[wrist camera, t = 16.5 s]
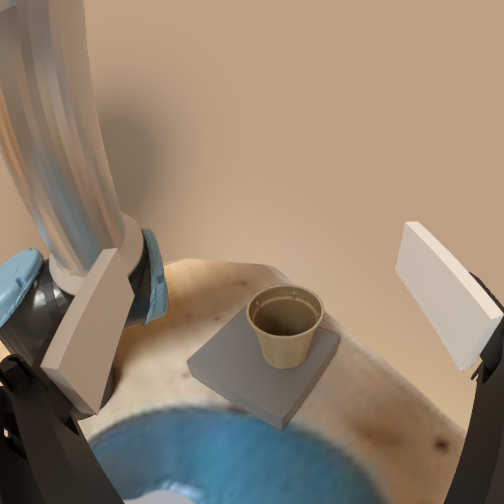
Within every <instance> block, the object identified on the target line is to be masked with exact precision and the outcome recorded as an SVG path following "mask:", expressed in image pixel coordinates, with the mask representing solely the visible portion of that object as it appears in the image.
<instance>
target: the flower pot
mask: <svg viewBox="0 0 504 504" xmlns="http://www.w3.org/2000/svg"><path fill="white" fill-rule="evenodd" d="M323 315H324V307H323V303H322V301H321V299H320V298H319V297H318V296H317V295H316V294H315V293H314V292H312V291H310V290H309V289H306V288H304V287H300V286H296V285H286V284H285V285H275V286H270V287H267V288H265V289H263V290H261V291H259V292H257V293H256V294H255V295H254V296H253V297H252V298H251V299H250V301H249V302H248V304H247V307H246V316H247V320H248V322H249V324H250V325H251V326H252V327H253V329H254V330H255V332H256V333H257V336H258V340H259V343H260V346H261V349H262V353H263V356H264V359H265V360H266V362H267V363H268V364H270V365H271V366H273V367H275V368H278V369H286V368H294V367H297V366H299V365H300V364H301V363H302V362H303V361H304V360H305V359H306V356H307V353H308V350H309V346H310V343H311V340H312V337H313V334H314V331H315V330H316V328H317V327H318V326H319V324H320V323H321V321H322V319H323Z"/></svg>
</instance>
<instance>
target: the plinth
mask: <svg viewBox="0 0 504 504" xmlns="http://www.w3.org/2000/svg"><path fill="white" fill-rule="evenodd" d="M246 307H247V305H246V306H245V307H244V308H243V309H242V310H241V311H240V312H239V313H238V314H237V315H236V316H235V317H234V318H233V319H232V320H230V321H229V322H228V323H227V324H226V325H225V326H224V327H223V328H222V329H221V330H220V331H219V332H218V333H216V334H215V335H214V336H213V337H212V338H211V339H210V340H209V341H208V342H207V343H206V344H204V345H203V346H202V347H201V348H200V349H199V350H198V351H197V352H196V353H195V354H193V355H192V356H191V357H190V358H189V359H188V360H187V364H188V367H189V369H190V372H191V374H192V376H193V377H194V378H196V379H197V380H199V381H200V382H201V383H203V384H204V385H206V386H207V387H209V388H210V389H212V390H213V391H215V392H216V393H218V394H220V395H221V396H223V397H224V398H226V399H227V400H229V401H231V402H232V403H234V404H235V405H237V406H239V407H240V408H242V409H244V410H245V411H247V412H249V413H250V414H252V415H254V416H255V417H257V418H259V419H261V420H262V421H264V422H266V423H268V424H270V425H271V426H273V427H275V428H277V429H279V430H281V431H282V430H283V429H284V428H285V426H286V425H287V424H288V422H289V421H290V420H291V418H292V417H293V415H294V414H295V413H296V411H297V410H298V409H299V407H300V406H301V404H302V403H303V402H304V400H305V399H306V397H307V396H308V394H309V393H310V392H311V390H312V389H313V387H314V386H315V384H316V383H317V381H318V380H319V378H320V377H321V375H322V374H323V372H324V371H325V369H326V367H327V366H328V364H329V363H330V361H331V360H332V358H333V356H334V355H335V353H336V351H337V347H338V342H339V338H340V335H338V334H336V333H333V332H331V331H328V330H326V329H323V328H321V327H317V328H316V330H315V331H314V334H313V337H312V340H311V343H310V346H309V350H308V353H307V356H306V359H305V360H304V361H303V362H302V363H301V364H300V365H299V366H297V367H294V368H286V369H278V368H275V367H273V366H271V365H270V364H268V363H267V362H266V360H265V359H264V356H263V353H262V349H261V346H260V343H259V340H258V336H257V333H256V332H255V330H254V329H253V327H252V326H251V325H250V324H249V322H248V320H247V316H246Z"/></svg>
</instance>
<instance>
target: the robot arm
mask: <svg viewBox="0 0 504 504" xmlns="http://www.w3.org/2000/svg"><path fill="white" fill-rule="evenodd" d="M0 153H1V155H2V157H3V160H4V162H5V165H6V167H7V169H8V172H9V174H10V176H11V178H12V181H13V183H14V185H15V187H16V189H17V191H18V193H19V195H20V197H21V199H22V201H23V203H24V205H25V207H26V209H27V211H28V213H29V215H30V217H31V218H32V220H33V222H34V224H35V226H36V227H37V229H38V231H39V233H40V234H41V236H42V238H43V240H44V241H45V243H46V245H47V246H48V248H49V250H50V251H51V253H50V257H49V259H47V260H44V259H43V255H42V254H41V253H40V252H39V251H38V250H37V249H31V248H30V249H26V250H24V251H21V252H19V253H17V254H16V255H14V256H13V257H11V258H10V259H9V260H7V261H6V262H5V263H3V264H2V265H1V266H0V340H1V341H2V343H3V344H4V345H5V347H6V348H7V349H8V351H9V352H10V353H11V355H8V356H7V357H6V358H4V359H3V360H2V361H1V363H0V382H1V383H2V384H3V385H4V386H0V504H125V503H124V502H123V500H122V499H121V498H120V496H119V495H118V493H117V492H116V490H115V489H114V487H113V486H112V484H111V482H110V481H109V479H108V478H107V476H106V474H105V473H104V471H103V469H102V468H101V466H100V464H99V463H98V461H97V459H96V457H95V455H94V454H93V452H92V450H91V448H90V446H89V444H88V442H87V440H86V439H85V437H84V435H83V433H82V430H81V428H80V426H79V424H78V422H77V420H81V419H85V418H87V417H89V416H91V415H98V413H99V410H100V409H101V408H102V407H103V406H104V404H105V403H106V402H107V400H108V399H109V397H110V395H111V393H112V391H113V388H114V383H115V373H114V368H113V366H112V362H113V359H114V355H115V352H116V349H117V346H118V343H119V340H120V336H121V333H122V330H125V329H128V328H131V327H135V326H138V325H141V326H143V325H146V324H147V323H148V322H151V321H153V320H156V319H158V318H161V317H163V316H164V315H165V314H166V312H167V310H168V306H169V298H168V289H167V284H166V280H165V277H164V267H163V263H162V258H161V254H160V251H159V247H158V243H157V240H156V237H155V235H154V233H153V232H152V231H151V230H150V229H142V228H140V227H139V226H138V224H137V223H136V221H134V219H132V218H131V217H130V216H128V215H126V214H124V213H122V212H121V209H120V206H119V202H118V199H117V195H116V192H115V188H114V185H113V181H112V177H111V173H110V169H109V165H108V162H107V157H106V154H105V149H104V145H103V140H102V135H101V131H100V126H99V121H98V116H97V111H96V105H95V100H94V94H93V87H92V81H91V74H90V67H89V59H88V50H87V40H86V28H85V13H84V0H0ZM395 271H396V273H397V274H398V275H399V277H400V278H401V280H402V281H403V283H404V284H405V285H406V287H407V288H408V290H409V291H410V293H411V294H412V296H413V297H414V298H415V300H416V301H417V303H418V304H419V306H420V308H421V309H422V310H423V312H424V314H425V315H426V317H427V318H428V320H429V321H430V323H431V325H432V326H433V328H434V329H435V330H436V332H437V334H438V336H439V337H440V339H441V341H442V342H443V344H444V346H445V347H446V349H447V351H448V352H449V354H450V356H451V358H452V359H453V361H454V363H455V365H456V366H457V368H458V370H459V371H461V370H464V369H466V368H469V367H471V366H473V364H474V363H475V361H476V360H477V359H478V357H479V356H480V357H481V359H482V360H483V361H482V362H481V364H480V365H479V367H478V368H477V370H476V371H475V372H474V374H473V375H472V377H471V380H473V379H474V378H475V376H476V375H477V374H478V378H477V380H476V381H477V387H476V393H475V399H474V404H473V409H472V414H471V419H470V423H469V428H468V432H467V436H466V439H465V443H464V447H463V450H462V454H461V457H460V460H459V463H458V466H457V469H456V472H455V475H454V478H453V481H452V483H451V486H450V489H449V491H448V494H447V496H446V499H445V501H444V503H443V504H504V307H503V306H502V305H501V304H500V302H499V301H498V300H497V299H496V298H495V296H494V295H493V294H491V292H490V291H489V289H488V288H486V287H485V285H484V284H483V282H482V281H481V280H480V279H479V278H478V277H476V276H475V275H473V274H472V273H470V272H468V271H467V270H466V269H465V268H464V267H463V266H462V265H461V264H460V263H459V262H458V261H457V260H456V259H455V257H454V256H453V255H452V254H451V253H450V252H449V251H448V250H447V249H446V248H445V247H444V246H443V245H442V244H441V243H440V242H439V241H438V240H437V239H435V237H434V236H433V235H432V234H430V233H429V232H428V231H427V230H426V229H425V228H424V227H423V226H422V225H421V224H420V223H419V222H405V226H404V232H403V237H402V242H401V246H400V251H399V256H398V260H397V264H396V269H395ZM4 429H5V430H7V431H8V437H6V436H5V435H4Z"/></svg>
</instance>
